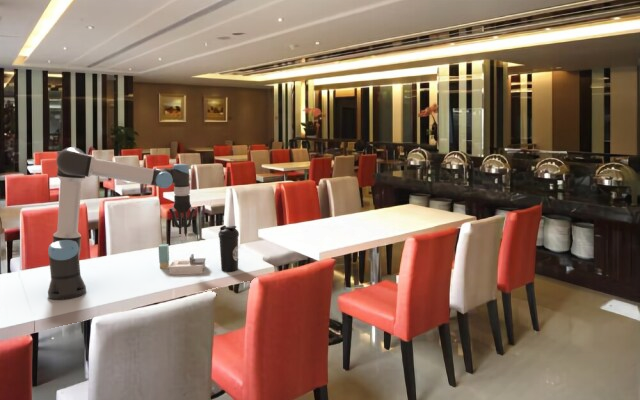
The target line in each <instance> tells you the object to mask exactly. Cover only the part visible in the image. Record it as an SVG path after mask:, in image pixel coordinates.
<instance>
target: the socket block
mask: <svg viewBox="0 0 640 400" xmlns="http://www.w3.org/2000/svg"><path fill="white" fill-rule="evenodd" d="M205 268H206V261H205V262H204V264H190V258H189V259H188V258H187V259H173V260H172V262H171V263H170V264H169V267H168V269H169V275H195V274H203V272H204V271H205Z"/></svg>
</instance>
